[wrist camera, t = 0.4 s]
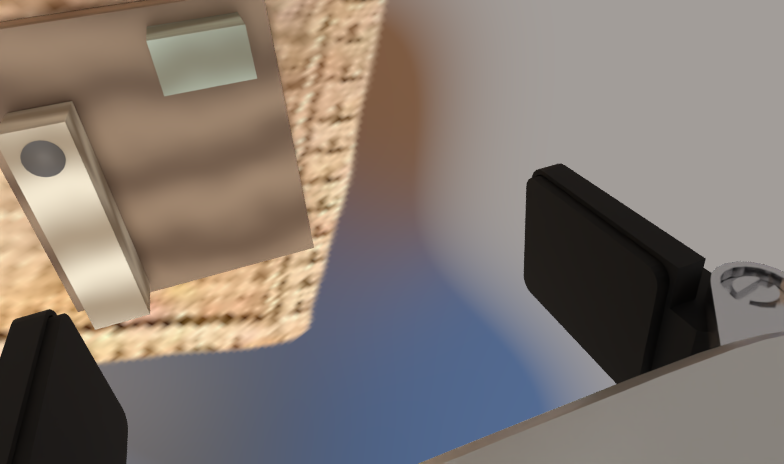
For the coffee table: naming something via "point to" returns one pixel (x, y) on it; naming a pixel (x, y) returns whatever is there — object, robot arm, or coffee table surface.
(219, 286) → the coffee table surface
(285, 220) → the brown board with blocks
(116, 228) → the folding leg
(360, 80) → the coffee table surface
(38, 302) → the coffee table surface
